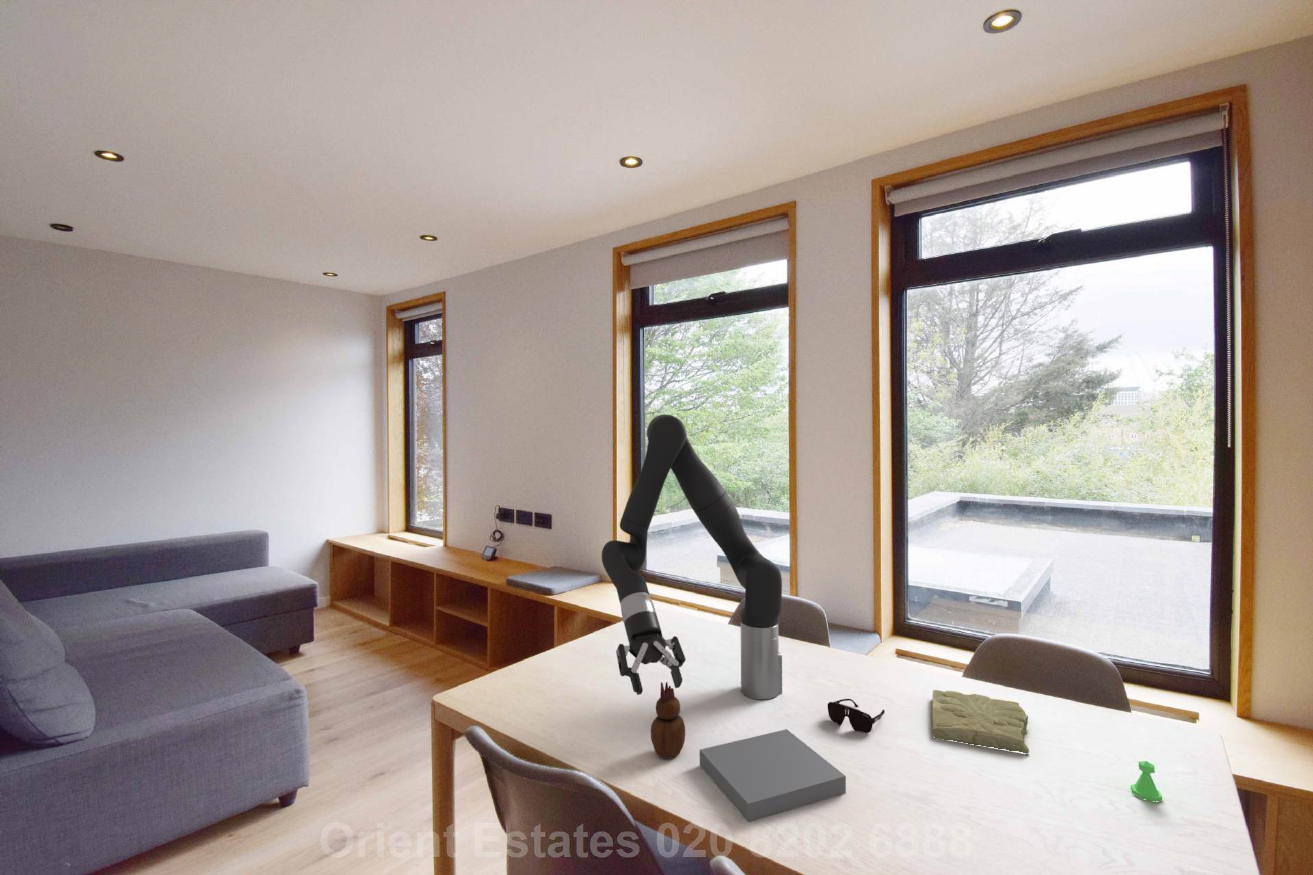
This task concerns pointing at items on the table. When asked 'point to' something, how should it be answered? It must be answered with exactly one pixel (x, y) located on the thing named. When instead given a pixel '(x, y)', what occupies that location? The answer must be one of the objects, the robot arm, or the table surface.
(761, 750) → the block
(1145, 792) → the game piece
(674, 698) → the wooden figurine
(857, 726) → the sunglasses
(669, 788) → the table surface
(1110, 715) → the table surface
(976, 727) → the decorative tile
